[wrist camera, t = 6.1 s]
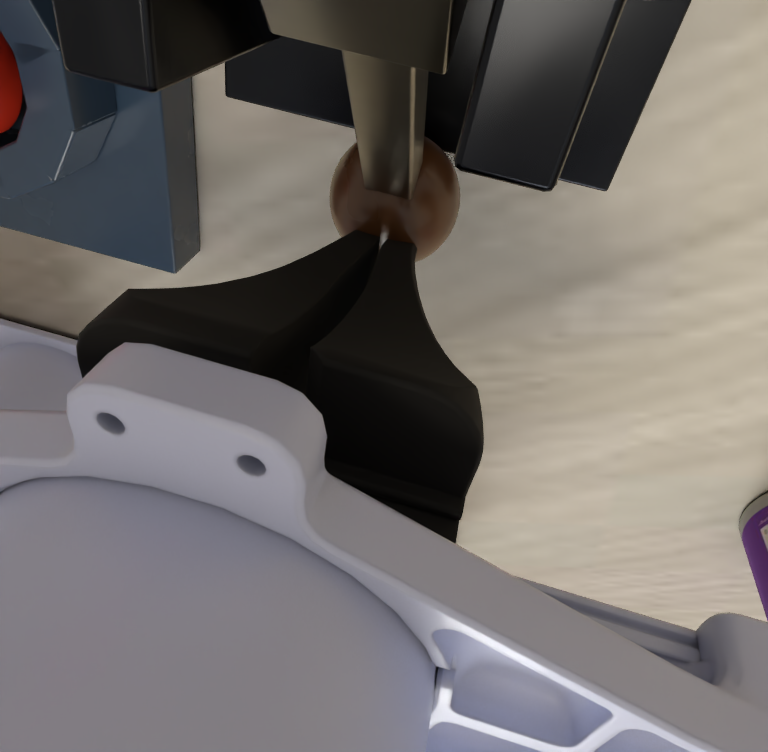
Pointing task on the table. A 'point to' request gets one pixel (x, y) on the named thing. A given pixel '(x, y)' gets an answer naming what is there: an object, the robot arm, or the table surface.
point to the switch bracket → (444, 91)
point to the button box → (96, 155)
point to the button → (9, 87)
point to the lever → (386, 111)
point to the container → (757, 543)
